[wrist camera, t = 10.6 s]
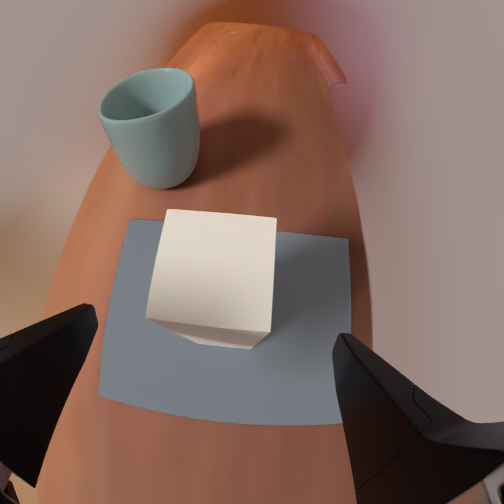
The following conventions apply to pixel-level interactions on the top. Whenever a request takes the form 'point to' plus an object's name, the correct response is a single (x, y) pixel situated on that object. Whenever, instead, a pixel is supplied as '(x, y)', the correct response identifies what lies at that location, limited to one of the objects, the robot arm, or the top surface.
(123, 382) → the slate mat
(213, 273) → the block
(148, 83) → the cup
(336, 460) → the top surface
